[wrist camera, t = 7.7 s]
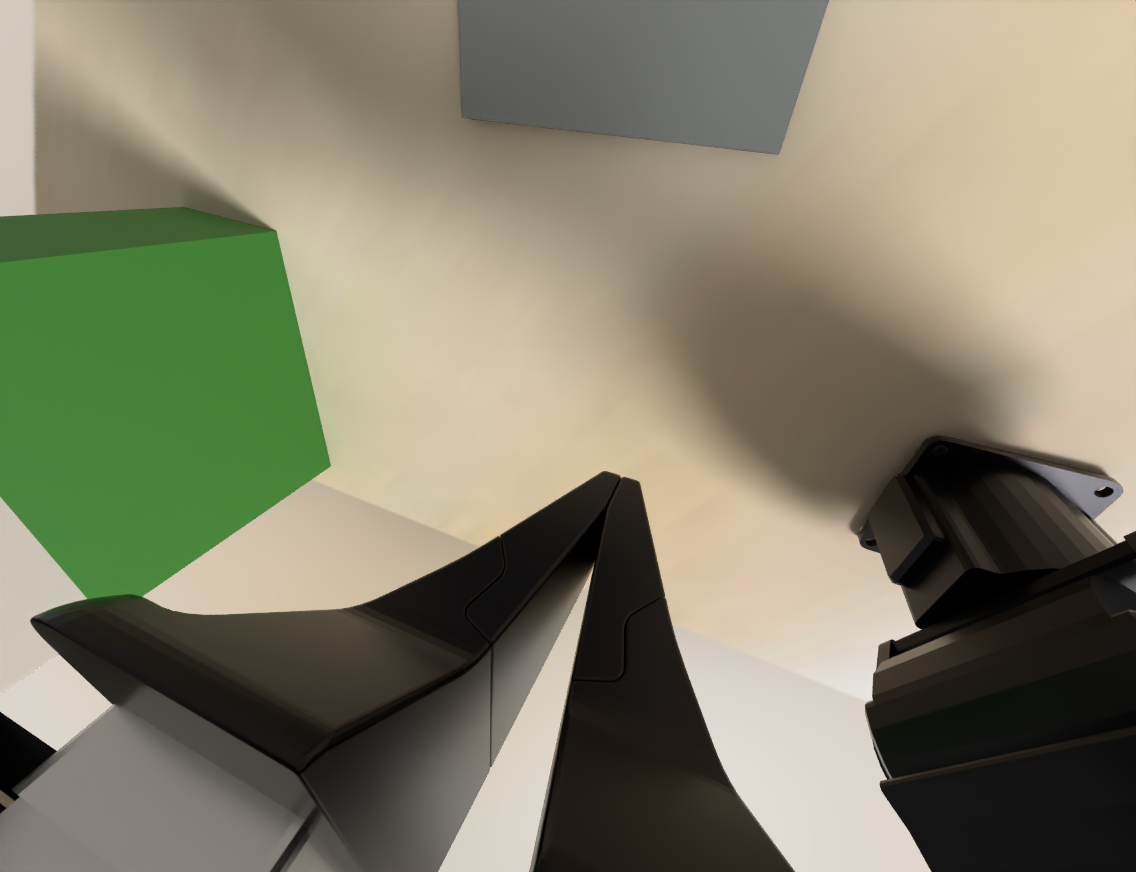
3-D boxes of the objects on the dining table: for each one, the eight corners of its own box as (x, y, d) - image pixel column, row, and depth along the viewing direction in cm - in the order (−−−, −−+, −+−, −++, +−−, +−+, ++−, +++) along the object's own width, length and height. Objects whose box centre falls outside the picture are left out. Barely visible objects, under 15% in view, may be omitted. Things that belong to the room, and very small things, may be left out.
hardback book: (330, 466, 34) (-200, 832, 15) (261, 438, 36) (-300, 738, 17) (276, 231, 24) (-1479, 429, 5) (183, 207, 26) (-1426, 291, 7)
